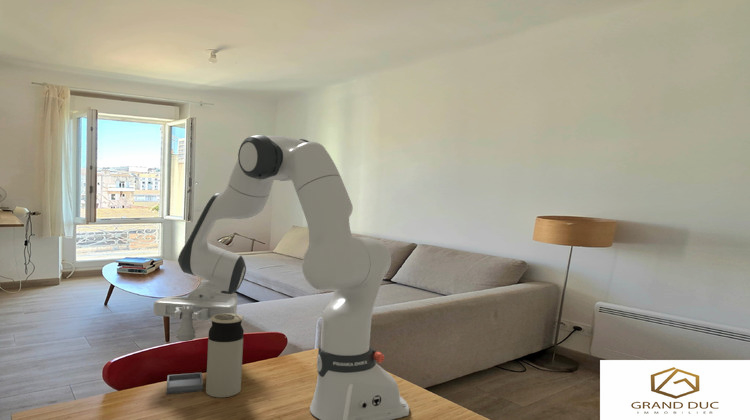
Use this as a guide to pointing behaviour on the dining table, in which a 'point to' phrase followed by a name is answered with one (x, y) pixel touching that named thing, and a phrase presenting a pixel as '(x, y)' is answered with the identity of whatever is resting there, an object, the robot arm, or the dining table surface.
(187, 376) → the tray
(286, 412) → the dining table surface
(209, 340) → the travel mug
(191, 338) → the rook chess piece
